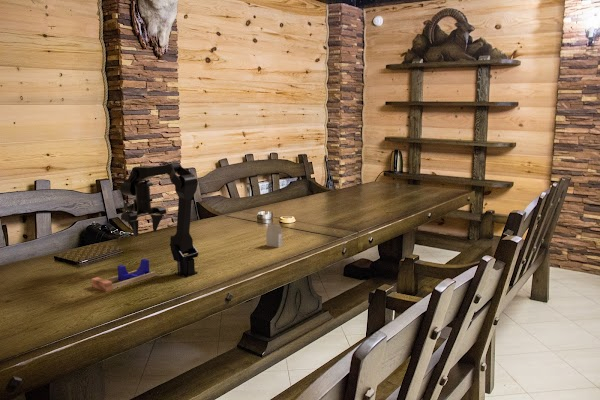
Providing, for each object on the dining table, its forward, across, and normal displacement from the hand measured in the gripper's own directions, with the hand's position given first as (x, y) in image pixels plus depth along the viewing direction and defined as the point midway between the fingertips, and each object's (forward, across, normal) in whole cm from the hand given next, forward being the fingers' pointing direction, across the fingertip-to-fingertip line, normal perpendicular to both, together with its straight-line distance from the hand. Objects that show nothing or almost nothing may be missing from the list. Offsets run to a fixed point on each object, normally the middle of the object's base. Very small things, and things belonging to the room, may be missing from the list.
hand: (145, 233), depth 226 cm
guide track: (+13, +18, +10) cm, 25 cm away
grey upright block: (+14, -55, +23) cm, 62 cm away
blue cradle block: (+14, +14, +10) cm, 22 cm away
